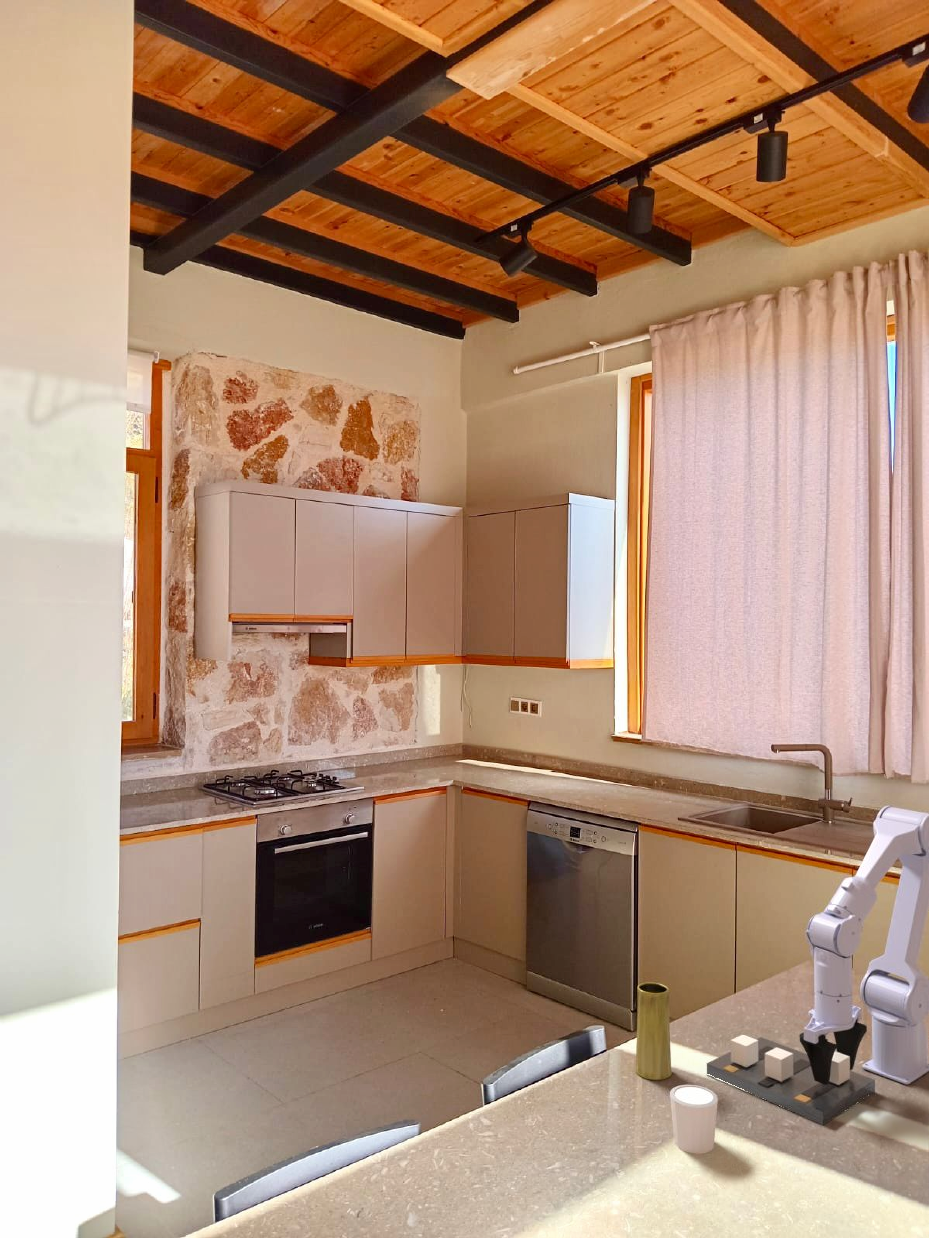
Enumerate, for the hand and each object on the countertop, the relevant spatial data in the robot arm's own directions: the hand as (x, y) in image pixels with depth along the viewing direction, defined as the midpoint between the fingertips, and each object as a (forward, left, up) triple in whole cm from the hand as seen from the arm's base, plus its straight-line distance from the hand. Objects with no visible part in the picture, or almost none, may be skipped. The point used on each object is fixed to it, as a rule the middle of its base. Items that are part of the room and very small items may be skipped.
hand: (833, 1074), depth 153 cm
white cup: (+29, -5, -3) cm, 30 cm away
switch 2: (+5, -6, -1) cm, 8 cm away
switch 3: (-1, 0, -1) cm, 1 cm away
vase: (+16, -23, -3) cm, 29 cm away
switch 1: (+5, -13, -1) cm, 14 cm away
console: (+2, -6, -3) cm, 8 cm away
